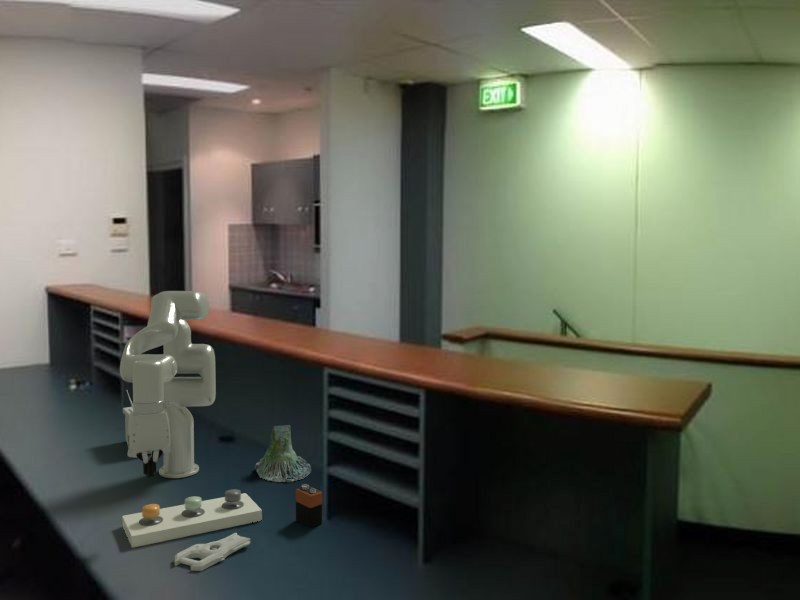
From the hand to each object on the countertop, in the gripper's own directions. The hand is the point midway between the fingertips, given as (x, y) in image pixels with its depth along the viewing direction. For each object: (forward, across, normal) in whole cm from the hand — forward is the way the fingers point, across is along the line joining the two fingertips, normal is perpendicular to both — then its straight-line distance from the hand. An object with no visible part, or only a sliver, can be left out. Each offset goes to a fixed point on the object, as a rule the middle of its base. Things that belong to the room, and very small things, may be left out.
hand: (149, 476), depth 180 cm
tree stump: (+15, -47, -27) cm, 57 cm away
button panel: (+15, -11, -1) cm, 19 cm away
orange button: (+11, 0, -1) cm, 11 cm away
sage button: (+11, -11, -1) cm, 15 cm away
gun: (+16, -11, +20) cm, 28 cm away
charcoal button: (+10, -22, -1) cm, 25 cm away
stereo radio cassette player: (+14, -11, -75) cm, 77 cm away
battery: (+16, -39, +13) cm, 44 cm away
